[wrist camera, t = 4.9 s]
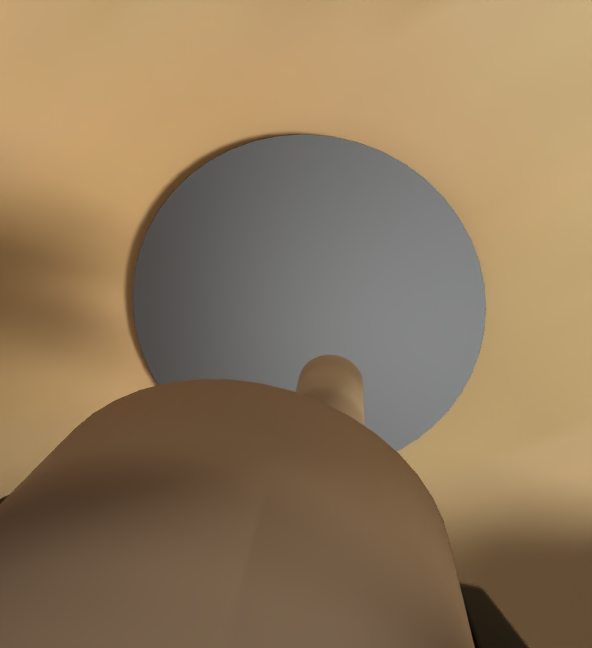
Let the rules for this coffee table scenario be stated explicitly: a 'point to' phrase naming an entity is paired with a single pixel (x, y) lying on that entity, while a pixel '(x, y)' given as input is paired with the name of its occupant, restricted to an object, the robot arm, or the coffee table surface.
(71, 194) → the coffee table surface
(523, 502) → the coffee table surface
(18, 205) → the coffee table surface
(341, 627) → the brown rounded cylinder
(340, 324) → the felt mat
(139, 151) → the coffee table surface
